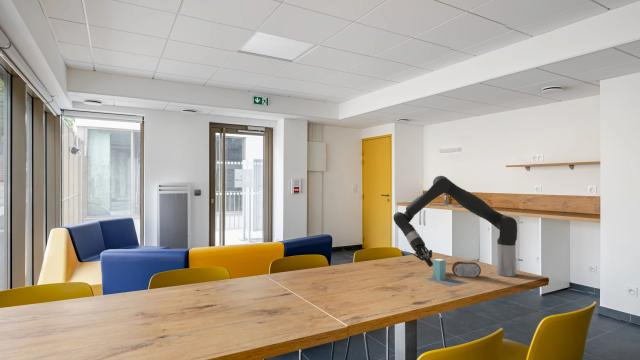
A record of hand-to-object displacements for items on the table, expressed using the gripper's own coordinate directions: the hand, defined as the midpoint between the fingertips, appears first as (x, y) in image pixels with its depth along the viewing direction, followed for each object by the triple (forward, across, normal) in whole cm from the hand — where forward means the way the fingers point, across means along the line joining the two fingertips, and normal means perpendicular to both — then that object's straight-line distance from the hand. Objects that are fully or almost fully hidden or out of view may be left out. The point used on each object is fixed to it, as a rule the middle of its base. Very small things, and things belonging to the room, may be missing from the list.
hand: (431, 265), depth 200 cm
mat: (+12, 0, -3) cm, 12 cm away
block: (+8, 0, 0) cm, 8 cm away
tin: (+11, +18, -1) cm, 21 cm away
